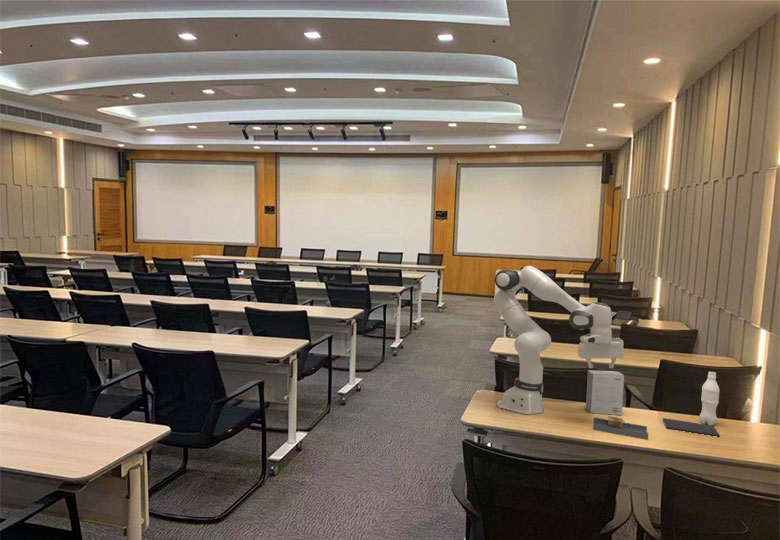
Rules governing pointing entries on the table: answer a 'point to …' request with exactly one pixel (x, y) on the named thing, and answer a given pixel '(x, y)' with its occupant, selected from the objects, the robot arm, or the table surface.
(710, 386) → the water bottle
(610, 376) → the hard drive box
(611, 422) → the walnut block
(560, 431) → the table surface
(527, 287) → the robot arm
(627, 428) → the grey parallel rails
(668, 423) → the notebook
